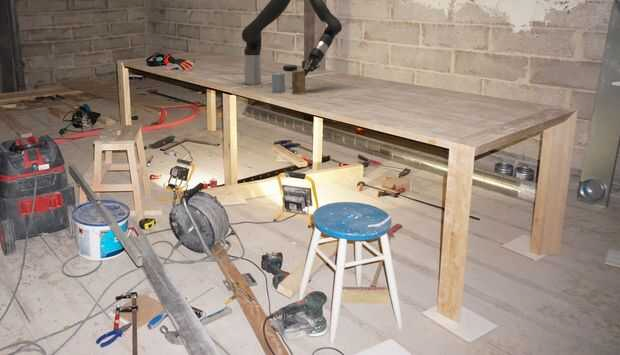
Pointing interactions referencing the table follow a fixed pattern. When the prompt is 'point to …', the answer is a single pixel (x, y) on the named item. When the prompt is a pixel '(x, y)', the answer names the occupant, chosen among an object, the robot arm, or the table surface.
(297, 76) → the walnut block
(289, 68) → the jar
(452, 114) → the table surface
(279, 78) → the grey block
